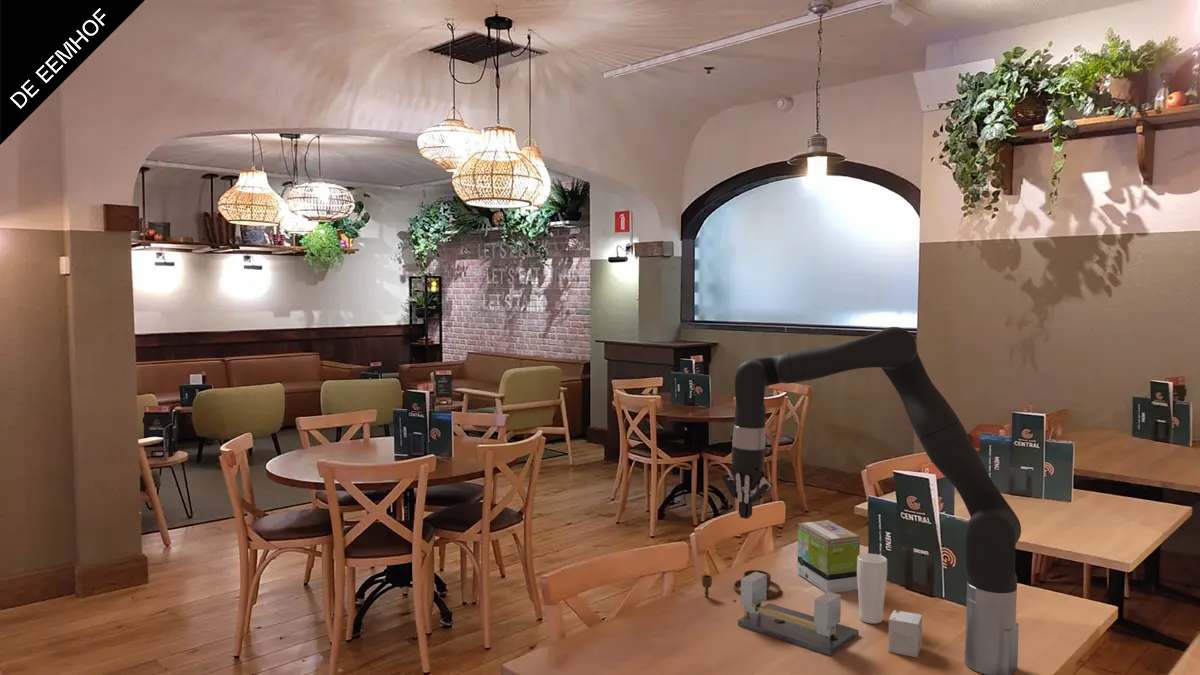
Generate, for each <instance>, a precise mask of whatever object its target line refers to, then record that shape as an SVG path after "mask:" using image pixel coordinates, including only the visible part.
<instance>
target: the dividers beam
mask: <svg viewBox="0 0 1200 675" xmlns="http://www.w3.org/2000/svg"><path fill="white" fill-rule="evenodd" d="M813 602H814V603H813V604H814V606H813V607H814V608H813V610H814V611H813V616H814V622H812V621H808V620H805V619H802V618H799V617H795V616H792V615H789V614H786V613H782V612H779V611H776V610H773V609H769V608H766V607H763V606H764V605H763V606H762V605H761V606H759V605H756V612H758V613H761V614H764V615H768V616H771V617H774V618H777V619H780V620H784V621H787V622H790V623H793V624H796V625H799V626H803V627H806V628H809V629H812V630H815V631H817V633H818V634H821V635H824V636H828V637H830V638H831V639H834V637H835V628H836V624H840V622H841V610H842V609H841V607H842V606H841V605H842V604H841V603H842V596H841V594H839V593H832V592H827V593H826V592H824V593H823V594H822V595H819V597H817V598H814V601H813ZM750 613H751V612H749V611H745V610H744V609H743V617H745V618H748V617H750Z"/></svg>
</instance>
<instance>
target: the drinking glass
mask: <svg viewBox="0 0 1200 675" xmlns="http://www.w3.org/2000/svg"><path fill="white" fill-rule="evenodd" d="M887 579H888V559H887V558H886V557H885V556H883V555H881V554H877V553H860V555H858V557H857V585H858V589H857V595H858V596H857V598H858V618H859V620H860V621H862V622H864V623H867V624H871V625H874V624H875V625H876V624H880V623H881V622H883V618H884V617H883V616H884V606H885V605H884V604H885V596H886V590H887V588H886V586H887V581H888V580H887Z"/></svg>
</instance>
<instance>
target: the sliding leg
mask: <svg viewBox="0 0 1200 675" xmlns="http://www.w3.org/2000/svg"><path fill="white" fill-rule="evenodd" d="M740 579H741V585H740V590H741V595H740V605H742V606H743V611H744V610H745V611H749V612H750V613H756V605H759V606H762V603H763V602H765V601H766V600H767V599H766V594H767V590H768V589H767V575H766V574H763V573H759V572H754V573H752V574H750V575H748V576H746V577H744V576H743V577H742V578H740ZM757 614H761V613H758V612H757Z"/></svg>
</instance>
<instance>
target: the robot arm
mask: <svg viewBox="0 0 1200 675" xmlns="http://www.w3.org/2000/svg"><path fill="white" fill-rule="evenodd" d="M917 347H918V346H917V341H916V338H915V337H914V335H912V333H911V332H910V331H909V330H907V329H905V328H903V327H898V326H890V327H886V328H884V329H882V330H879V331H876V332H874V333H872V334H869V335H866V336H863V337H860V338H857V339H856V338H855V339H854V340H850V341H846V342H842V343H837V344H831V345H825V346H819V347H813V348H807V349H800V350H796V351H791V352H786V353H783V354H782V353H781V354H780V355H771V356H770V355H769V356H764V357H755V358H750V359H748V360H746V361H743V362H742V363H741V364H740V365H739V366H738V367H737V368H736V370H735V375H734V396H735V409H734V425H733V430H732V443H731V444H732V447H731V463H732V464H731V466H730V469H729V472H727V473H724V474H722V476H721V478H722V480H723V483H724V484H725V486H726V488H727V490H728V491H729V493H730V495H731V497H732V498H734V499H736V500H737V501H738V515H739V518H741V519H745V520H746V519H749V518H750V517H752V516H753V505H754V503H756V502H759V501H761V500H762V499H763V497H765V495H766V494H767V493H768V492H769V491H770V490H771V488H773V487H774V485H773V483H772V482H771V481H770V482H769V481H768V480H767V479H766V478H765V472H764V466H765V454H766V453H765V452H766V412H767V410H766V405H765V391H766V387H768V386H769V387H770V386H774V385H778V384H786V385H787V384H795V383H796V384H797V383H801V382H807V381H812V380H817V379H821V378H825V377H829V376H832V375H835V374H839V373H843V372H846V371H851V370H852V371H853V370H858V369H866V368H868V369H869V368H871V369H872V368H881V370H882V372H883V373H884V375H886V376H887V378H888V380H889V381H890V383H891V384H892V386H893V387H894V388H895V391H896V392H897V394H898V395H899V397H900V400H901V401H902V404H903V407H904V409H905V412H906V414H907V416H908V420H909V422H910V425H911V426H912V428H913V431H914V433H915V435H916V438H917V439H918V441H919V442H920V444H921V447H922V448H923V450H924V452H925V453H926V455H927V456H928V458H929V460H930V462H932V464H933V465H934V466H935V467H936V468H937V469H938V471H939V472H940V473H941V474H942V475H943V476H944V477H945V478H946V479H947V480H948V481H949V482H950V484H952V486H953V487H954V488H955V490H956V491H957V493H958V494H959V496H960V497H961V499H962V501H963V503H964V505H965V508H966V509H967V512H968V515H969V517H970V519H969V520H968V522H967V523H966V524H967V525H966V528H965V536H964V537H965V538H964V539H965V540H964V541H965V548H964V551H965V552H964V554H965V556H964V557H965V559H964V560H965V561H964V562H965V563H964V565H965V571H966V575H967V576H966V580H967V581H966V583H967V584H966V605H965V606H966V610H965V612H966V613H965V638H964V640H965V641H964V644H965V645H964V663H965V665H966V666H967V667H968V668H970V669H972V670H973V671H975V672H977V673H978V674H979V673H980V674H984V675H1013V674H1014V673H1015V671H1016V670H1017V669H1018V662H1019V661H1018V658H1019V655H1018V654H1019V632H1020V630H1019V628H1020V627H1019V625H1020V624H1019V623H1018V622H1017V598H1018V597H1017V595H1018V575H1017V574H1016V544H1017V543H1018V542H1019V540H1020V538H1021V535H1022V527H1021V522H1020V520H1019V517H1018V516H1017V514H1016V513H1015V512H1014V510H1013V508H1012V507H1011V506H1010V505H1009V502H1007V501H1006V499H1005V498H1004V496H1003V495H1002V493H1001V492H1000V491H999V489H998V487H997V485H995V483H994V481H993V480H992V478H991V477H990V475H989V473H988V471H987V469H986V467H985V465H984V463H983V461H982V459H981V457H980V454H979V453H978V451H977V449H976V448H975V446H974V444H973V442H972V439H971V438H970V436H969V434H968V432H967V431H966V429H965V427H964V426H963V424H962V422H961V421H960V418H959V417H958V415H957V414H956V412H955V411H954V409H953V408H952V406H951V405H950V404H949V402H948V401H947V399H946V398H945V397H944V396H943V395H942V393H941V392H940V391H939V390H938V388H937V386H935V385H934V383H933V382H932V380H931V379H930V377H929V375H928V373H927V370H926V368H925V366H924V364H923V362H922V359H921V358H920V354H919V352H918V348H917ZM758 486H759V489H758V490H757V487H758Z"/></svg>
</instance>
